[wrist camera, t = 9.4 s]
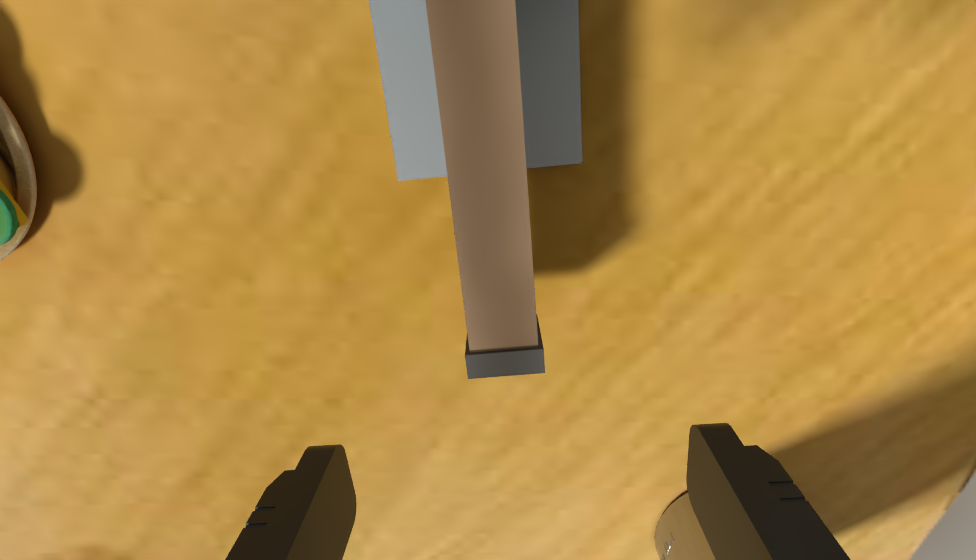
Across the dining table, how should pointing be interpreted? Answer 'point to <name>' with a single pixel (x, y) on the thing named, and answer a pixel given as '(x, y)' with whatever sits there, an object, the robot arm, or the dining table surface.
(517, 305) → the shaft
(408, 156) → the base plate
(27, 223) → the toy food set
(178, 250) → the dining table surface
